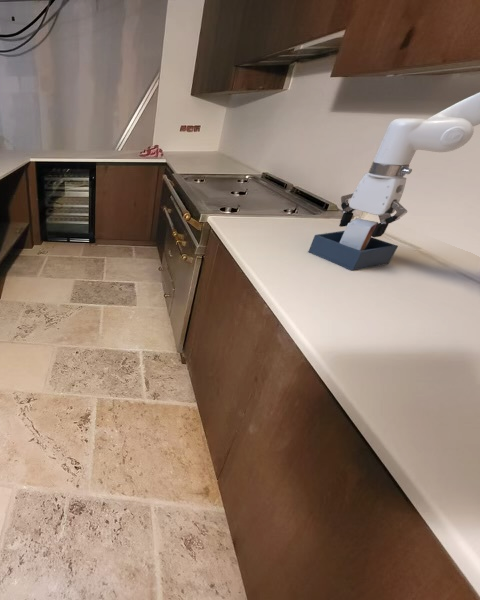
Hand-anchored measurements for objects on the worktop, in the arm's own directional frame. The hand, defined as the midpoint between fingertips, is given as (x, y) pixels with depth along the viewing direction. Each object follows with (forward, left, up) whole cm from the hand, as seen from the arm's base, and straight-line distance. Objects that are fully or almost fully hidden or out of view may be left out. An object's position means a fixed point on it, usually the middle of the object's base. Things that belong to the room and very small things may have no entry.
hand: (359, 231), depth 96 cm
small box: (0, 0, -8) cm, 8 cm away
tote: (0, 0, -9) cm, 9 cm away
